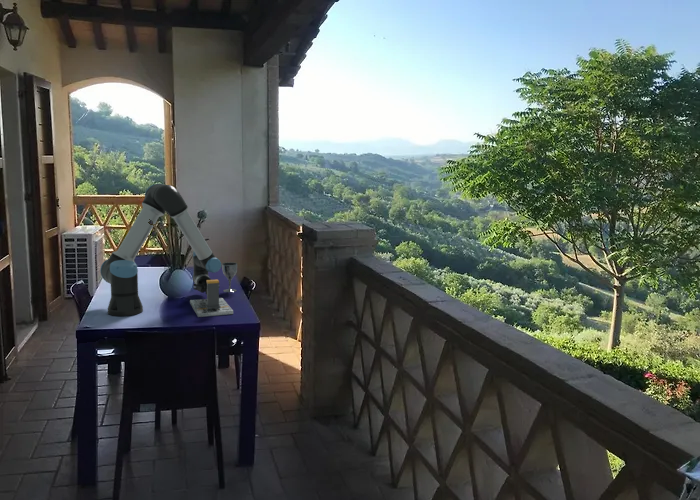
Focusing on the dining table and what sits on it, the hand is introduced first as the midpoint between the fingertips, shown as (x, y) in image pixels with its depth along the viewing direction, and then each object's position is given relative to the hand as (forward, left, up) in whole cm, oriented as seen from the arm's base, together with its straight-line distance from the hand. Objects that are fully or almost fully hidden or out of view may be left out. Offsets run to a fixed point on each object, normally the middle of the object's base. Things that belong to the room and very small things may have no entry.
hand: (212, 293), depth 268 cm
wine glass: (+16, +38, -9) cm, 42 cm away
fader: (0, -2, -6) cm, 7 cm away
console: (0, +4, -8) cm, 9 cm away
